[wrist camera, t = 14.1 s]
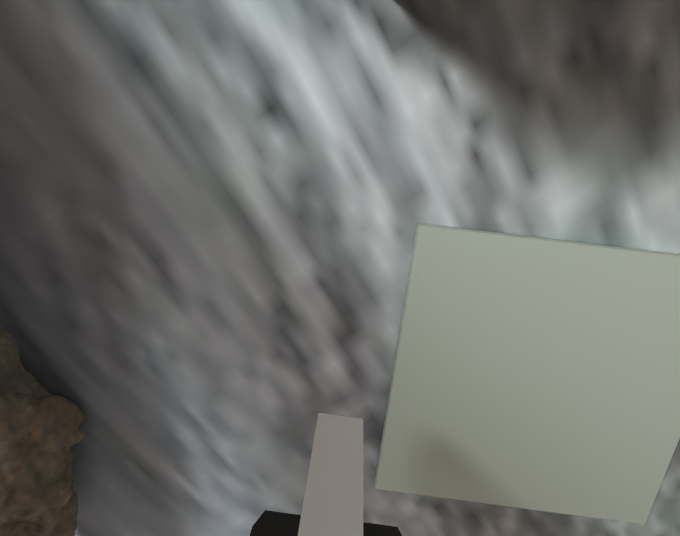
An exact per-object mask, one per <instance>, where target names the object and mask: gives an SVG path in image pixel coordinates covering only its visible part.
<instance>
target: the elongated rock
mask: <svg viewBox="0 0 680 536" xmlns="http://www.w3.org/2000/svg"><path fill="white" fill-rule="evenodd" d="M18 351H19V347H18V344H17V343H16V341H15V340H14V338H13V337H12V336H11V335H10V334H9V333H8V332H7V331H4V330H1V329H0V536H75V530H76V528H77V522H76V518H77V512H78V510H77V509H78V508H77V507H78V499H77V494H76V493H75V492H74V490H73V487H72V485H71V484H72V482H73V470H72V468H71V465H72V461H73V459H74V456H75V455H74V453H73V451H72V450H71V449H70V448H71V447H72V446H73V445H76V444H77V443H79V442H80V441H81V439H82V438H83V437H84V433H83V432H82V431H80V430H79V426H80V424H81V422H82V420H83V414H82V412H81V409H80V408H79V407H78V406H77V405H76V404H75V403H72V402H70V401H69V400H68V399H67V398H66V397H63V396H57V395H51V394H50V393H49V392H48V391H47V390H46V389H45V387H44V386H43V385H41V384H40V383H39V382H38V380H37V379H36V378H35V377H33V375H32V374H31V373H30V372H28V371H25V370H24V366H23V365H22V363H21V359H20V357H19V352H18Z"/></svg>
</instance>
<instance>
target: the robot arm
mask: <svg viewBox="0 0 680 536" xmlns="http://www.w3.org/2000/svg"><path fill="white" fill-rule="evenodd" d="M250 536H402V535H401V533H400V531H399V529H398V527H394V526H386V525H379V524H371V523H364V522H363V419H362V418H355V417H347V416H339V415H332V414H324V413H318V419H317V424H316V430H315V436H314V442H313V448H312V454H311V460H310V466H309V472H308V477H307V483H306V489H305V495H304V501H303V507H302V513H301V515H296V514H288V513H281V512H274V511H266V510H265V511H264V513H263V514H262V515H261V516H260V518H259V519H258V520H257V521H256V523H255V524H254V525H253V527H252V530H251V533H250Z"/></svg>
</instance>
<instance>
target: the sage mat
mask: <svg viewBox="0 0 680 536" xmlns="http://www.w3.org/2000/svg"><path fill="white" fill-rule="evenodd" d="M679 438H680V254H672V253H664V252H656V251H647V250H639V249H631V248H622V247H614V246H605V245H597V244H589V243H580V242H572V241H564V240H555V239H547V238H538V237H530V236H522V235H513V234H505V233H497V232H488V231H480V230H471V229H463V228H455V227H446V226H438V225H430V224H421V223H417V228H416V234H415V240H414V246H413V252H412V258H411V264H410V270H409V277H408V283H407V289H406V295H405V301H404V307H403V313H402V319H401V325H400V331H399V337H398V343H397V349H396V355H395V361H394V367H393V373H392V379H391V385H390V392H389V398H388V404H387V410H386V416H385V422H384V428H383V434H382V440H381V446H380V452H379V458H378V464H377V470H376V476H375V489H379V490H386V491H394V492H401V493H409V494H417V495H424V496H432V497H439V498H447V499H454V500H462V501H470V502H477V503H485V504H492V505H500V506H508V507H515V508H523V509H530V510H538V511H545V512H553V513H561V514H568V515H576V516H583V517H591V518H599V519H606V520H614V521H621V522H629V523H636V524H644V525H645V523H646V521H647V518H648V516H649V513H650V511H651V508H652V506H653V503H654V501H655V498H656V496H657V493H658V491H659V488H660V486H661V483H662V481H663V478H664V476H665V473H666V471H667V468H668V466H669V463H670V461H671V458H672V456H673V453H674V451H675V448H676V446H677V443H678V441H679Z"/></svg>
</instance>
